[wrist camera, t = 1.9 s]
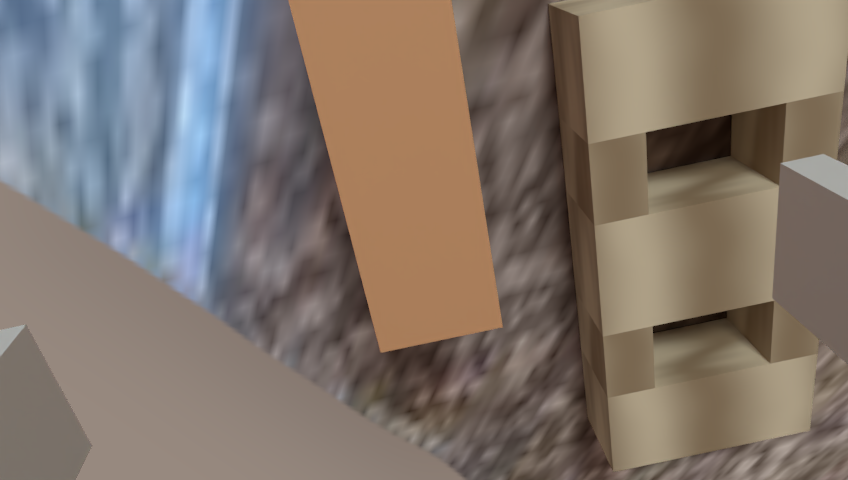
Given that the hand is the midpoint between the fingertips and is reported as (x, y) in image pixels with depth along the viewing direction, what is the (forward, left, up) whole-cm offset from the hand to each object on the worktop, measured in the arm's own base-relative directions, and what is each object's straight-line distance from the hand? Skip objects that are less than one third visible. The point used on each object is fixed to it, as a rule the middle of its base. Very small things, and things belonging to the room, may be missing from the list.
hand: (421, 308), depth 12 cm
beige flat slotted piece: (-12, +9, -18) cm, 23 cm away
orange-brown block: (0, 0, -18) cm, 18 cm away
